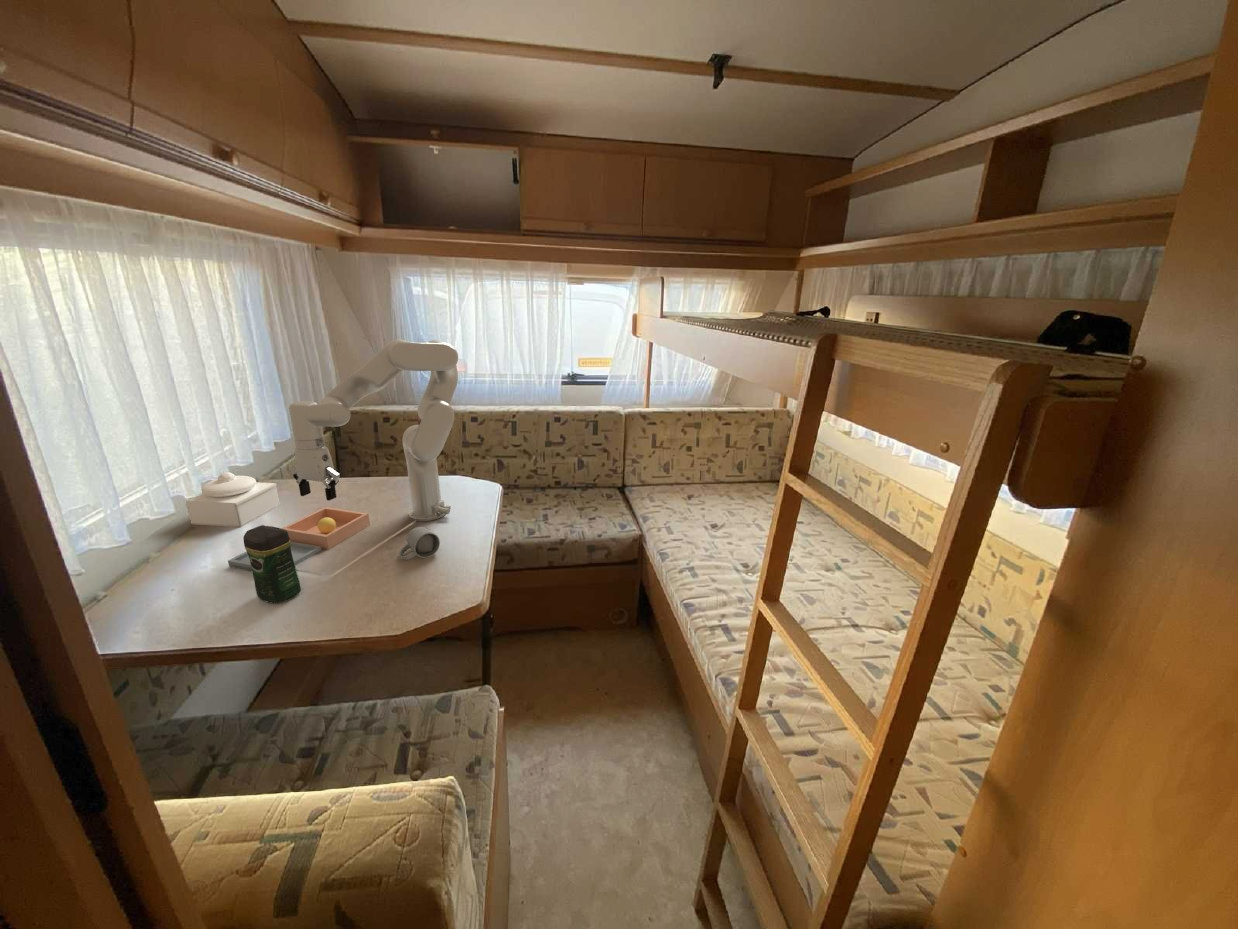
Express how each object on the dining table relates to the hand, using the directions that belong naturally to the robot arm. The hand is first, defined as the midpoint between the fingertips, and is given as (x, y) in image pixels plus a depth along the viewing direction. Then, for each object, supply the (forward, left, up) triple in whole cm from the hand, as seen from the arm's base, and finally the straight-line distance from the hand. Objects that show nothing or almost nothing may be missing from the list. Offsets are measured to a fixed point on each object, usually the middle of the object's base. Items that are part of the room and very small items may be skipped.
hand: (318, 496), depth 154 cm
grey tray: (+2, +16, -13) cm, 21 cm away
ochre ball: (0, 0, -12) cm, 12 cm away
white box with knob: (+41, -4, -14) cm, 43 cm away
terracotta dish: (0, 0, -13) cm, 13 cm away
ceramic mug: (-35, +1, -14) cm, 38 cm away
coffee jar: (-14, +29, -14) cm, 36 cm away
